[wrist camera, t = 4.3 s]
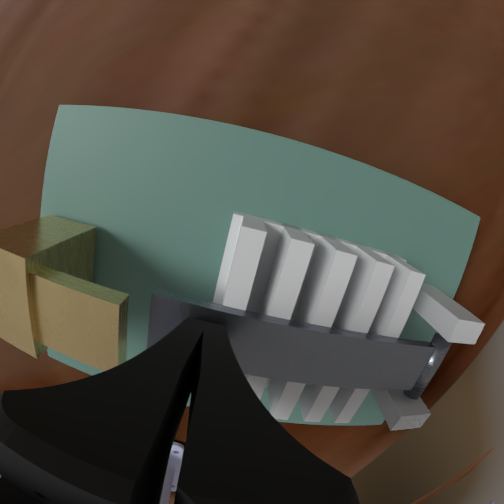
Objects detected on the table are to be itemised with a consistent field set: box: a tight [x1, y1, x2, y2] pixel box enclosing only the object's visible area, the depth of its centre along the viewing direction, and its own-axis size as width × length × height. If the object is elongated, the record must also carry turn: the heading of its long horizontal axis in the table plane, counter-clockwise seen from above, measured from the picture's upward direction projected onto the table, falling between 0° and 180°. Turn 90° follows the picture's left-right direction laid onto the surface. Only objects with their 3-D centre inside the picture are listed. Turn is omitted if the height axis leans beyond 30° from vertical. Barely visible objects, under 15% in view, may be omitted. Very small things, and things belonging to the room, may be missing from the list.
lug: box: [0, 215, 129, 371], centre depth 10 cm, size 4×6×5 cm, turn 76°
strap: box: [147, 288, 452, 400], centre depth 10 cm, size 3×12×1 cm, turn 76°
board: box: [40, 105, 485, 430], centre depth 11 cm, size 15×23×6 cm, turn 76°
